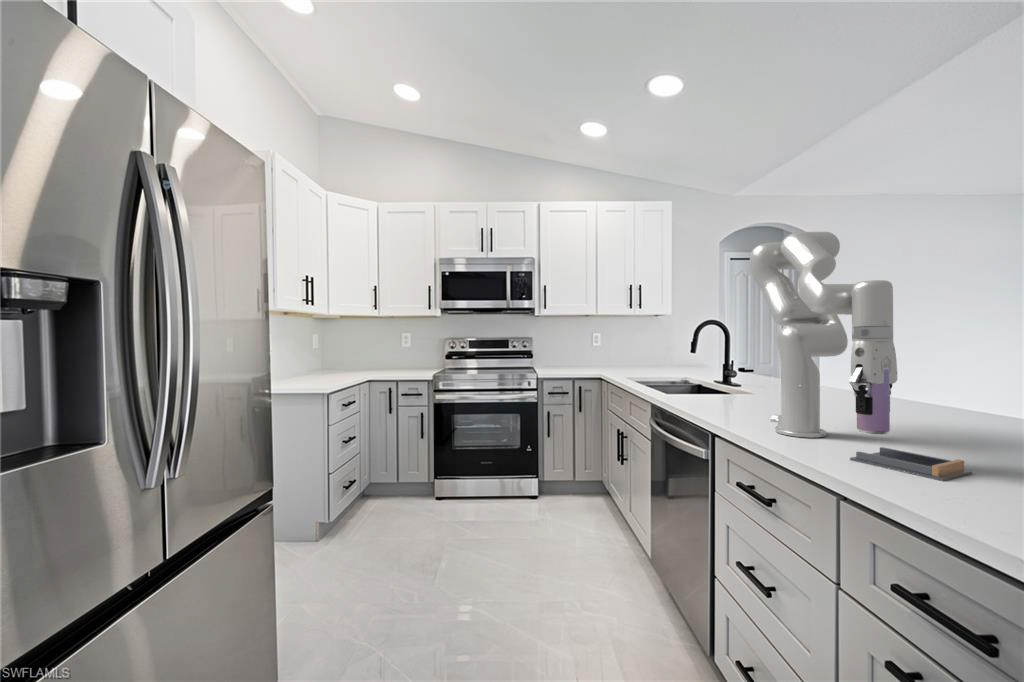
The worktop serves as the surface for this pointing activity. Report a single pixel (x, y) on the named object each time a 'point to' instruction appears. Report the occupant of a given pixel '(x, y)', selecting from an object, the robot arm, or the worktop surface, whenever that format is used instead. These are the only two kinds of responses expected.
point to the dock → (914, 463)
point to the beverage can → (877, 409)
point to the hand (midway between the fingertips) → (872, 412)
